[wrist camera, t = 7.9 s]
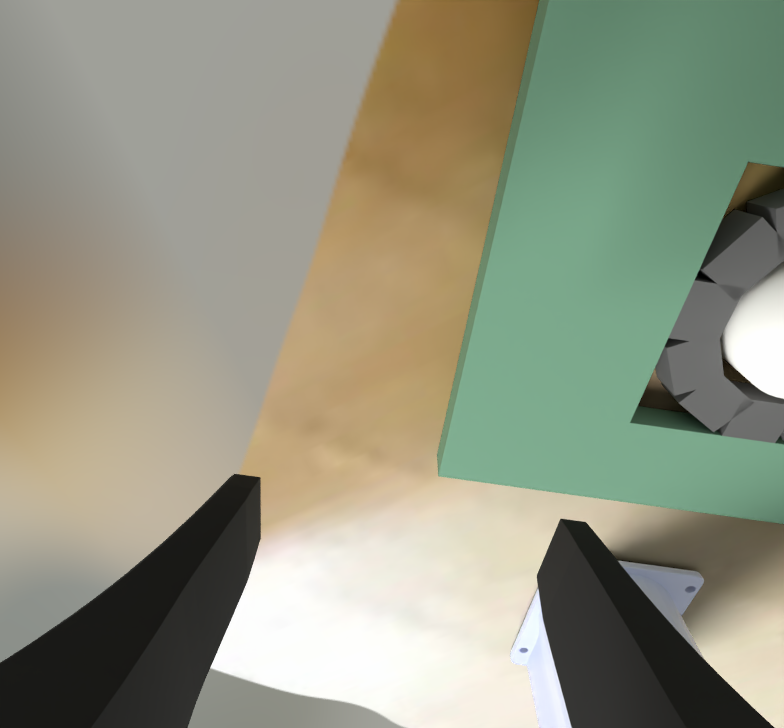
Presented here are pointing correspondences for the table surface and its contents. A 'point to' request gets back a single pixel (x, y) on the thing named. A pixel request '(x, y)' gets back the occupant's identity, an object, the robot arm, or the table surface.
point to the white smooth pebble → (759, 334)
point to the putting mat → (628, 262)
